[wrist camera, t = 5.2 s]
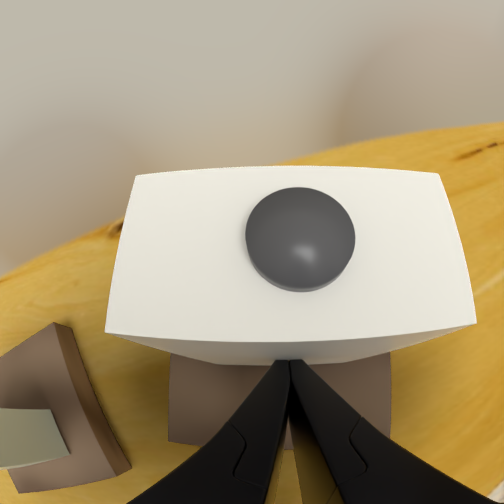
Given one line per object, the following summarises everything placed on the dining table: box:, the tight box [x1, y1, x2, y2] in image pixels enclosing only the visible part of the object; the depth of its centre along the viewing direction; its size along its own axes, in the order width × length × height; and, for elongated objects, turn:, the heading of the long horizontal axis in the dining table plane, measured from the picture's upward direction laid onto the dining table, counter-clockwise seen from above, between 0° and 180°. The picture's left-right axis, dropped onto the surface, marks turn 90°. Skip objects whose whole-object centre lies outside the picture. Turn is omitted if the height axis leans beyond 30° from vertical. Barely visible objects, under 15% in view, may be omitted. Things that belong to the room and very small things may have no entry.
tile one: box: [105, 166, 477, 365], centre depth 9 cm, size 3×6×10 cm, turn 89°
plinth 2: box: [168, 352, 391, 450], centre depth 14 cm, size 10×11×2 cm
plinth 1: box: [0, 322, 132, 493], centre depth 13 cm, size 10×11×2 cm
